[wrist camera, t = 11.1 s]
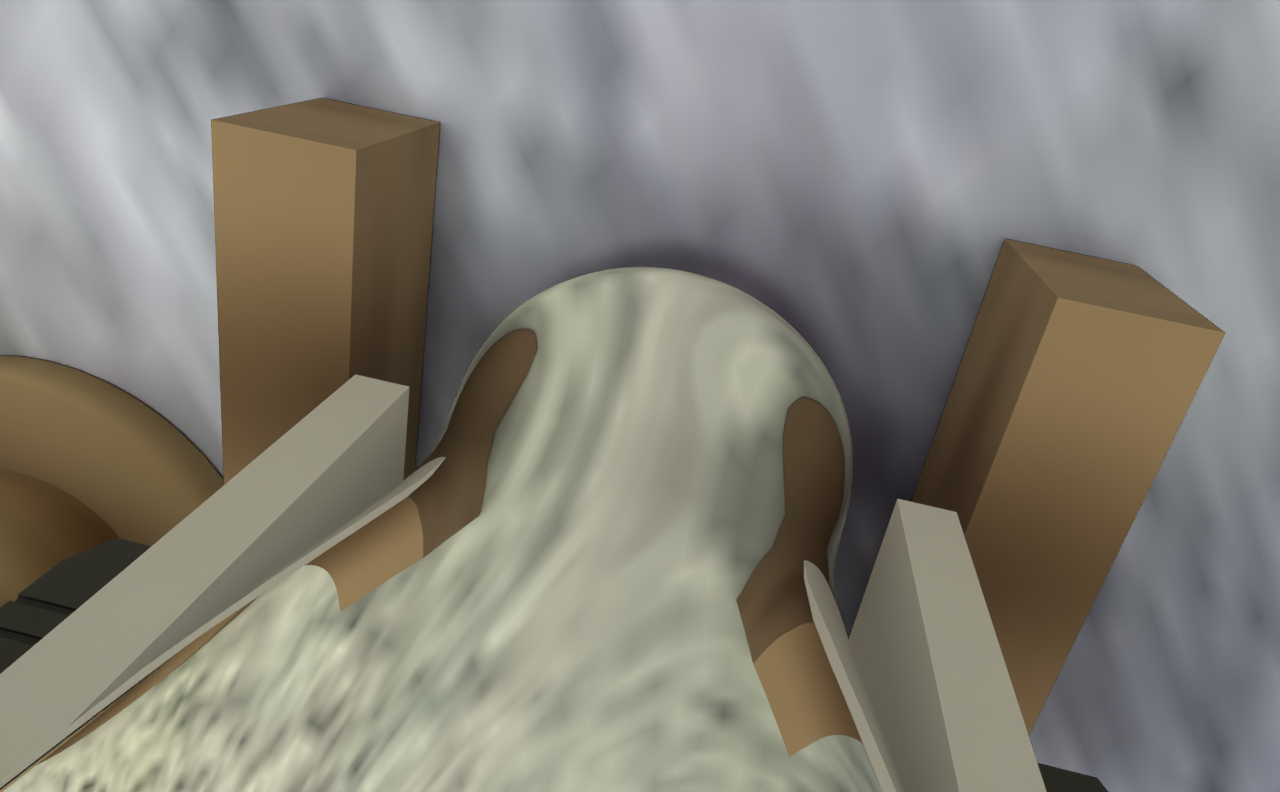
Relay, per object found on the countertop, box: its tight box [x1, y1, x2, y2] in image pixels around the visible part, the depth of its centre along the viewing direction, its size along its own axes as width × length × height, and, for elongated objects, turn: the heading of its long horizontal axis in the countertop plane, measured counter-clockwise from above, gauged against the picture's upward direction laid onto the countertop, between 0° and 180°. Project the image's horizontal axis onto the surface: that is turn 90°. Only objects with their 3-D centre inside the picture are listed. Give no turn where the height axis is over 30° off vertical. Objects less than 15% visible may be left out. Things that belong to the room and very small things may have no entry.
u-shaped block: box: [211, 98, 1225, 736], centre depth 15 cm, size 12×13×3 cm
